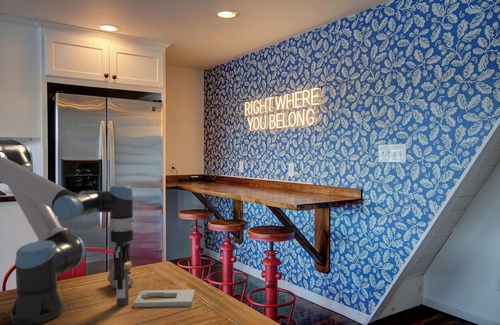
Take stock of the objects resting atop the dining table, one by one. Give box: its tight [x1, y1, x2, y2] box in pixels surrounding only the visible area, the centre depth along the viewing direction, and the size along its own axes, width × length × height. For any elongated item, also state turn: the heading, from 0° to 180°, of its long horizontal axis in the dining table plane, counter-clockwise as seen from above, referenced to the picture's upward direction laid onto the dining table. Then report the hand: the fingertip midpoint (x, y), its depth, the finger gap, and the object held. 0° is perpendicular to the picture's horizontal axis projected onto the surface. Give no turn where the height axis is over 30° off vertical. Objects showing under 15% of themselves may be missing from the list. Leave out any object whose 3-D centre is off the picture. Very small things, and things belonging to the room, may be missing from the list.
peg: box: [112, 260, 133, 307], centre depth 139 cm, size 6×6×14 cm
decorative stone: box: [107, 267, 135, 291], centre depth 157 cm, size 8×14×8 cm, turn 38°
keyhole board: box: [133, 289, 196, 308], centre depth 143 cm, size 20×12×2 cm, turn 93°
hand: (122, 295), depth 139 cm, fingers closed on peg, 4 cm apart
